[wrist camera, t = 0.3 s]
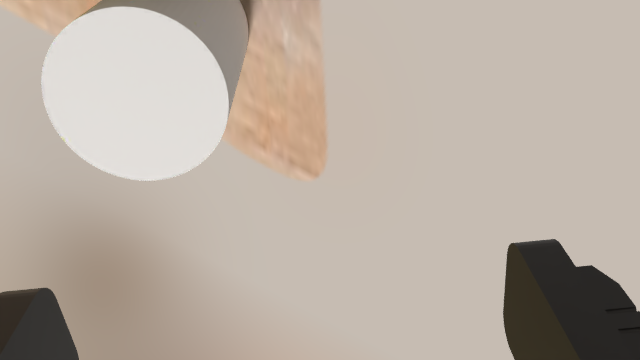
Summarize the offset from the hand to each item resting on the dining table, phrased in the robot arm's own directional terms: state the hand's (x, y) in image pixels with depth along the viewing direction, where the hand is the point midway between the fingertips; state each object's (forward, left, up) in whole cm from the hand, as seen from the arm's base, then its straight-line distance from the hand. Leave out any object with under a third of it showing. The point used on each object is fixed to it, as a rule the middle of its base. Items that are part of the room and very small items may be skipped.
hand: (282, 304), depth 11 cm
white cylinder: (+2, -7, -29) cm, 30 cm away
